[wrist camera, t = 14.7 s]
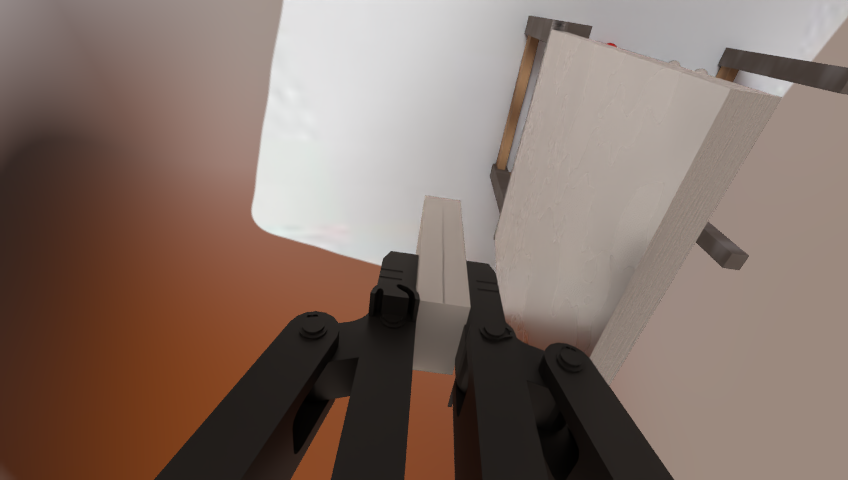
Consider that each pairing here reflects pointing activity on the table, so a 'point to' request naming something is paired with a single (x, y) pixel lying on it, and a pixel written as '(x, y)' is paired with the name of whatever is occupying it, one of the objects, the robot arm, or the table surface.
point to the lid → (613, 191)
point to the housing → (730, 64)
